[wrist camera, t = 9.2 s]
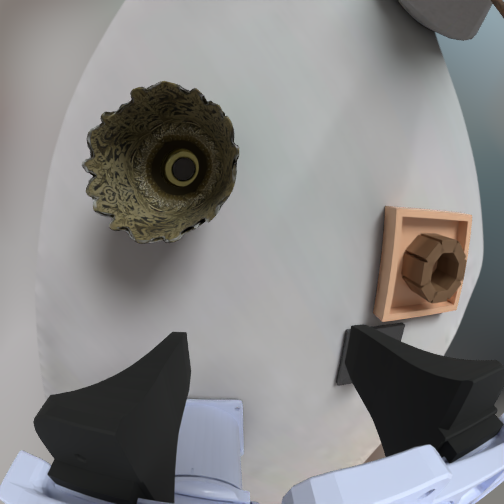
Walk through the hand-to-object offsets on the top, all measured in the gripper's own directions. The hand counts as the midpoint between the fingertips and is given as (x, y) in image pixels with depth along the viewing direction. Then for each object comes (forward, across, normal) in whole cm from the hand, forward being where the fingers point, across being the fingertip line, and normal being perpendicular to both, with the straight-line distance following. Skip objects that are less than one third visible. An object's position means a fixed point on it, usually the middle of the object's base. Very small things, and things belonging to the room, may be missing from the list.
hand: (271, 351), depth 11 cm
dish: (+10, -15, -1) cm, 18 cm away
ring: (+9, -15, -1) cm, 18 cm away
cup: (+10, +5, -8) cm, 14 cm away
